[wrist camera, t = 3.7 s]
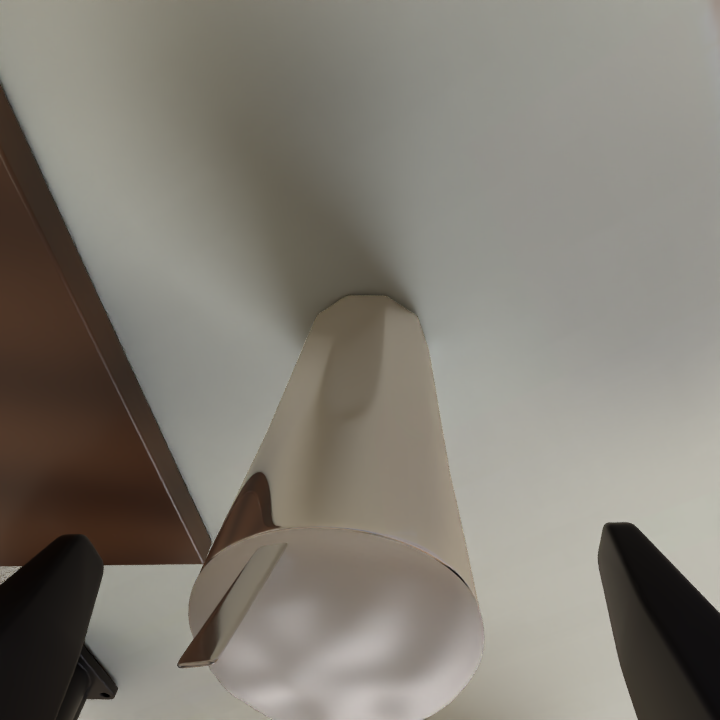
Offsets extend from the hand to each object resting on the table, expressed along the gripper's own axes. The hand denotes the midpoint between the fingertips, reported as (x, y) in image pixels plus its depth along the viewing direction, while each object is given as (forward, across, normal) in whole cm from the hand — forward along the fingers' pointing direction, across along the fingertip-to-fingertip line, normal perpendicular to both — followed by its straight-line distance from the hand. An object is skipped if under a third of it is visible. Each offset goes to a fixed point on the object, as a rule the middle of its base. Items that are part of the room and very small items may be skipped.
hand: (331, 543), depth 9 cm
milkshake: (+7, 0, 0) cm, 7 cm away
